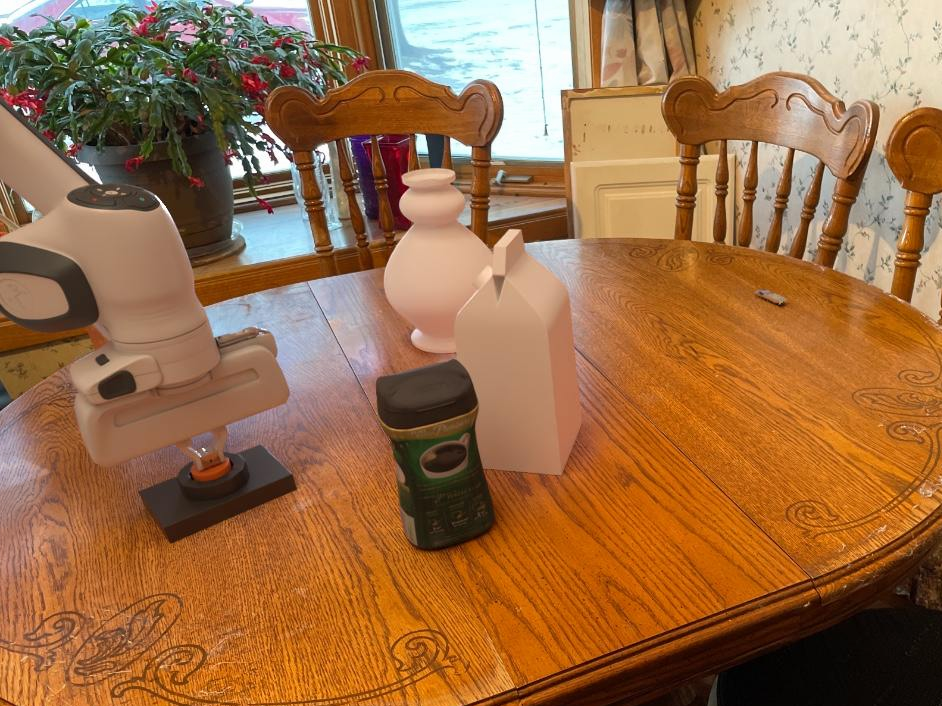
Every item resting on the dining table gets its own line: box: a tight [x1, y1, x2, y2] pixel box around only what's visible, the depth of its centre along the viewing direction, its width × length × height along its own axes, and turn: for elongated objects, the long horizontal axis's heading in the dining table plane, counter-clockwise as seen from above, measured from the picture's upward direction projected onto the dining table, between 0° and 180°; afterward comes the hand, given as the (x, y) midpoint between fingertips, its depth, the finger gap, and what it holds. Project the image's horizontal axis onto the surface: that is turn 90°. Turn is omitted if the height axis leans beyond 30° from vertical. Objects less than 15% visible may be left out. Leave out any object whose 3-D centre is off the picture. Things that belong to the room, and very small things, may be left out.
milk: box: [454, 228, 583, 476], centre depth 89 cm, size 12×12×26 cm
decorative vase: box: [383, 167, 493, 354], centre depth 117 cm, size 18×18×25 cm
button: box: [191, 457, 232, 482], centre depth 87 cm, size 4×4×2 cm
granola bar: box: [753, 288, 788, 305], centre depth 133 cm, size 7×2×1 cm, turn 33°
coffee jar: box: [375, 358, 496, 551], centre depth 78 cm, size 10×8×19 cm
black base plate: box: [138, 443, 297, 544], centre depth 88 cm, size 14×9×4 cm, turn 132°
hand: (210, 464), depth 86 cm, fingers closed, pressing on button
